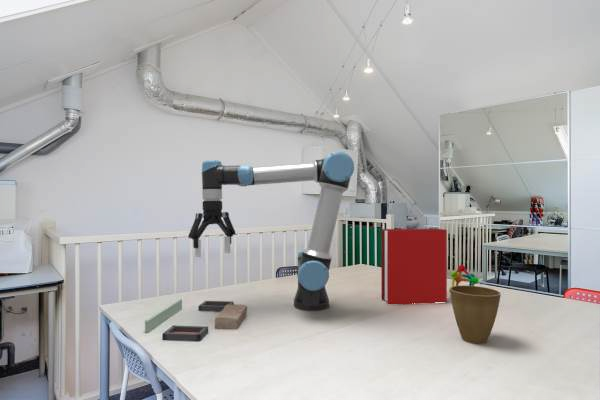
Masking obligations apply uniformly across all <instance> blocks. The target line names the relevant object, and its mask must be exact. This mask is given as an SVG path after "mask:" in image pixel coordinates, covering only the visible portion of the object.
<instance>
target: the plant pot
mask: <svg viewBox="0 0 600 400" xmlns="http://www.w3.org/2000/svg"><path fill="white" fill-rule="evenodd" d="M449 288H450V292H449V293H450V299H451V305H452V306H451V307H452V310H453V315H454V319H455V321H456V322H455V323H456V325H457V329H458V332H459V334H460V336H461V339H462V340H463V341H465V342H468V343H471V344H479V343H480V344H485V343H487V342H488V340H489V338H490V335H491V333H492V330H493V328H494V325H495V321H496V318H497V314H498V310H499V307H500V301H501V296H502V295H501V292H500V291H499V290H496V289H493V288H490V287H484V286H477V285H474V286H469V285H458V286H456V285H454V286H453V287H452V286H451V287H449Z"/></svg>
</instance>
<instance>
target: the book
mask: <svg viewBox="0 0 600 400" xmlns="http://www.w3.org/2000/svg"><path fill="white" fill-rule="evenodd" d="M447 231H448V230H447V229H443V228H381V301H386V302H387V303H386V304H403V305H415V304H414V303H435V302H447V301H448V297H447V296H448V293H447V292H448V284H447V283H448V281H447V280H448V277H447V276H448V273H447V272H448V270H447V266H448V264H447V263H448V259H447V258H448V257H447V256H448V255H447V253H448V252H447V251H448V249H447V248H448V247H447V246H448V243H447V242H448V240H447V239H448V238H447V237H448V235H447V234H448V232H447ZM412 303H413V304H412ZM447 303H448V302H447Z"/></svg>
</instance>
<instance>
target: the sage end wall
mask: <svg viewBox="0 0 600 400" xmlns="http://www.w3.org/2000/svg"><path fill="white" fill-rule="evenodd" d="M182 309H183V299H182V298H179V299H177V300H176V301H174V302H172V303H171V304H170V305H168V306H166V307H164V308H163V309H161V310H160V311H158V312H157V313H155V314H153V315H151V316H150V317H148V318H147V319H145V321H144V332H145V333H150V332H152V330H154V329H155V328H157V327H159V326H161V324H163V323H164V322H166V321H167V320H168V319H170V318H171V317H173V316H174V315H175V314H178V312H179V311H181V310H182Z"/></svg>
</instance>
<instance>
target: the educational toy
mask: <svg viewBox="0 0 600 400" xmlns="http://www.w3.org/2000/svg"><path fill="white" fill-rule="evenodd" d="M463 272H464V273H465V274H464V273H463ZM462 273H463V274H462ZM450 276H451V277H452V279H451V287H453V286H459V284H460V283H462V282H469V284H468V286H475V285H476V284H478V283H479V278H478V277H476V275H475V274H473V273H469V272H468V271H467V269H466V267H465V265H463V264H460V265H458V267H457V270H452V271H451V272H450ZM448 291H449V293H450V287H449V289H448Z"/></svg>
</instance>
